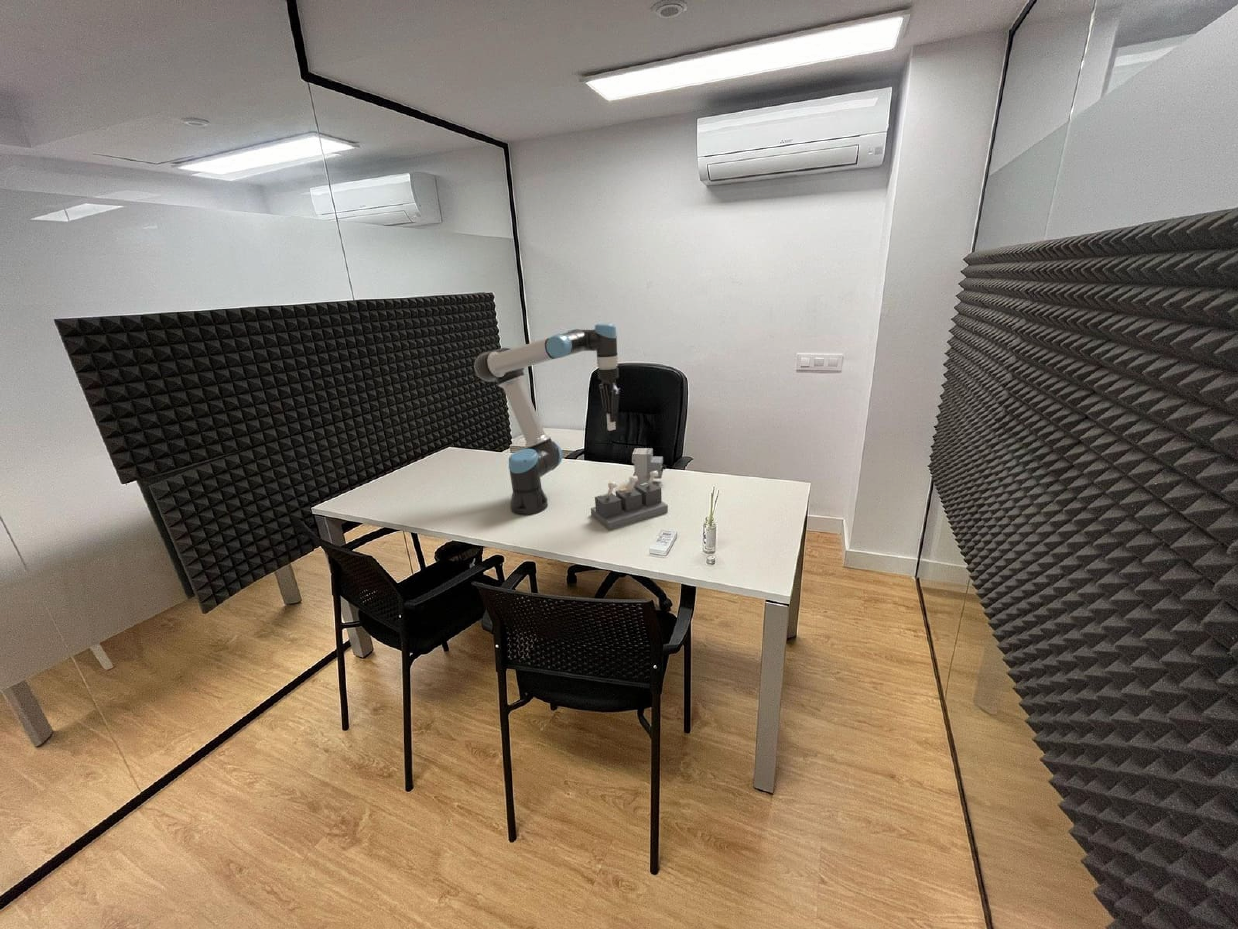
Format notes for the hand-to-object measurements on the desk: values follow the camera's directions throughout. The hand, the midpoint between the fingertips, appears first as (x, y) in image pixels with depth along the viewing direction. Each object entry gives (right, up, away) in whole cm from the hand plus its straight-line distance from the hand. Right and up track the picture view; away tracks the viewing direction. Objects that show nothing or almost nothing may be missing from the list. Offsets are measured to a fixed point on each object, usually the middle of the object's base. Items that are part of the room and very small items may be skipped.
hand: (611, 429), depth 184 cm
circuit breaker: (+17, -22, +32) cm, 42 cm away
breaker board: (+7, -33, +5) cm, 34 cm away
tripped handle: (+6, -24, +1) cm, 25 cm away
